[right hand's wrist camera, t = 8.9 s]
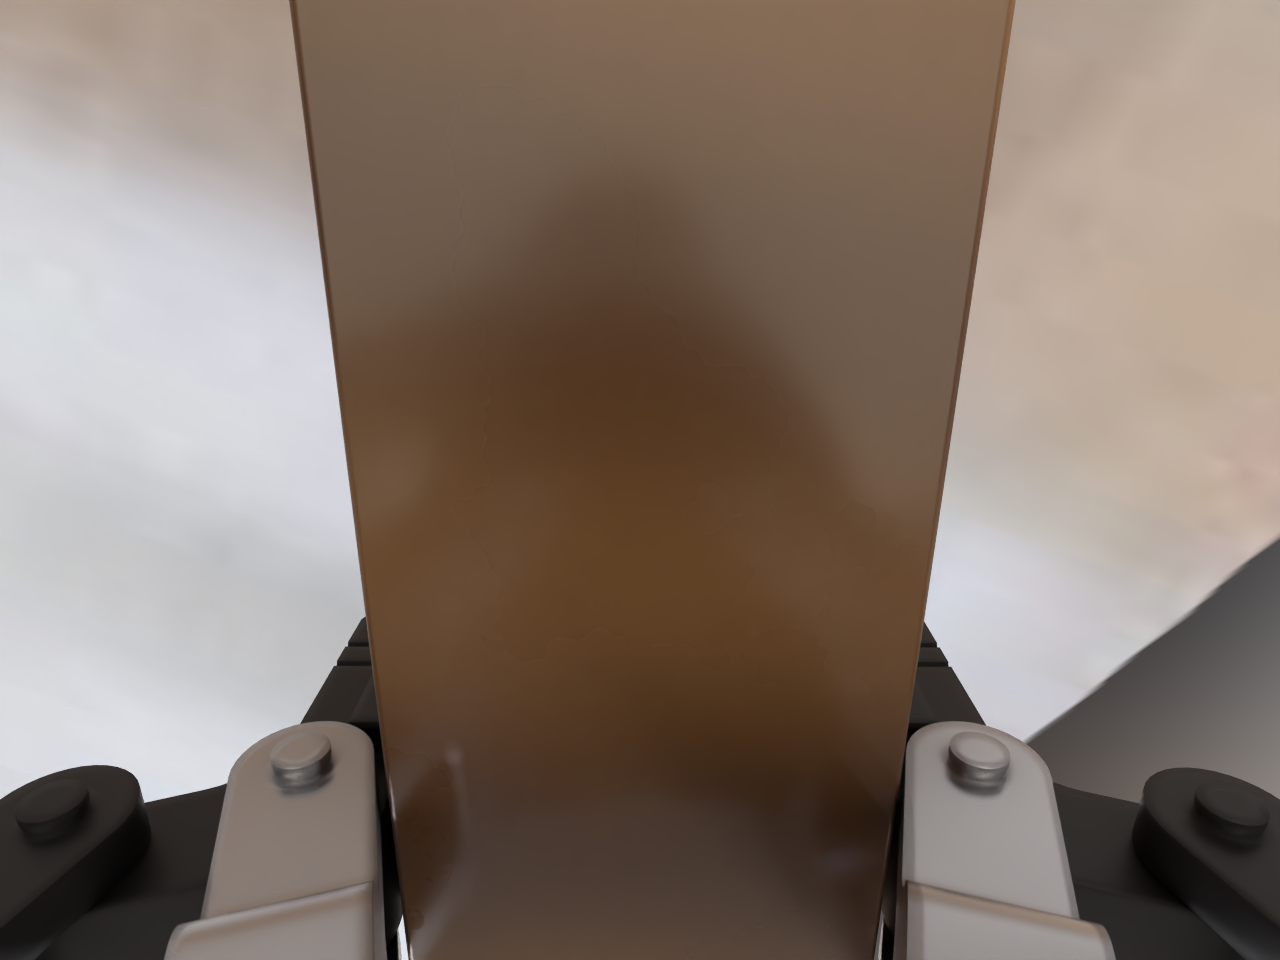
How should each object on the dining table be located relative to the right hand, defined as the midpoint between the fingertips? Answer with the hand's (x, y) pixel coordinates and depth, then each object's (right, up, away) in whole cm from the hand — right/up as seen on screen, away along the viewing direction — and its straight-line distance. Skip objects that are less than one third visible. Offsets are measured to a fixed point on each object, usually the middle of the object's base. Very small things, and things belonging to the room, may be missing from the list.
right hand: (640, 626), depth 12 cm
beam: (0, +22, -5) cm, 22 cm away
